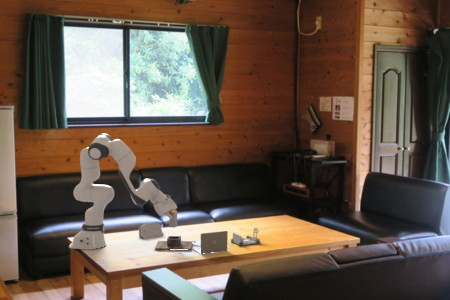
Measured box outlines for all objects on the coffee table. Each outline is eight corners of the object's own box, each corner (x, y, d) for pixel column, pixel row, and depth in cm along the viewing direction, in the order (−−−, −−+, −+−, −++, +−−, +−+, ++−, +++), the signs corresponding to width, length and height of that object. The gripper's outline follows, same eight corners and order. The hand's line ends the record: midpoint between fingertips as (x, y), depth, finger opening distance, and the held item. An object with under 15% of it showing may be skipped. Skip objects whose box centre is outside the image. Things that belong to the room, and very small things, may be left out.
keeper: (154, 250, 373) (154, 240, 372) (158, 243, 391) (158, 234, 390) (190, 251, 373) (190, 241, 372) (192, 243, 391) (192, 234, 390)
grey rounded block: (142, 238, 402) (140, 223, 403) (139, 239, 405) (136, 225, 407) (164, 235, 412) (161, 220, 414) (160, 236, 416) (158, 222, 417)
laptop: (218, 247, 384) (218, 226, 383) (227, 251, 373) (227, 230, 372) (192, 250, 376) (192, 229, 375) (200, 255, 365) (200, 233, 363)
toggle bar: (169, 227, 377) (169, 211, 376) (171, 225, 380) (172, 210, 379) (174, 227, 376) (174, 211, 374) (177, 226, 379) (177, 210, 378)
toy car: (255, 225, 402) (264, 229, 391) (255, 240, 403) (263, 244, 392) (231, 228, 394) (239, 232, 383) (230, 243, 395) (239, 247, 384)
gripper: (155, 200, 369) (169, 217, 366) (170, 194, 388) (184, 211, 385) (148, 207, 371) (163, 224, 368) (164, 201, 390) (177, 217, 387)
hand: (174, 217), depth 377 cm, fingers closed on toggle bar, 3 cm apart
